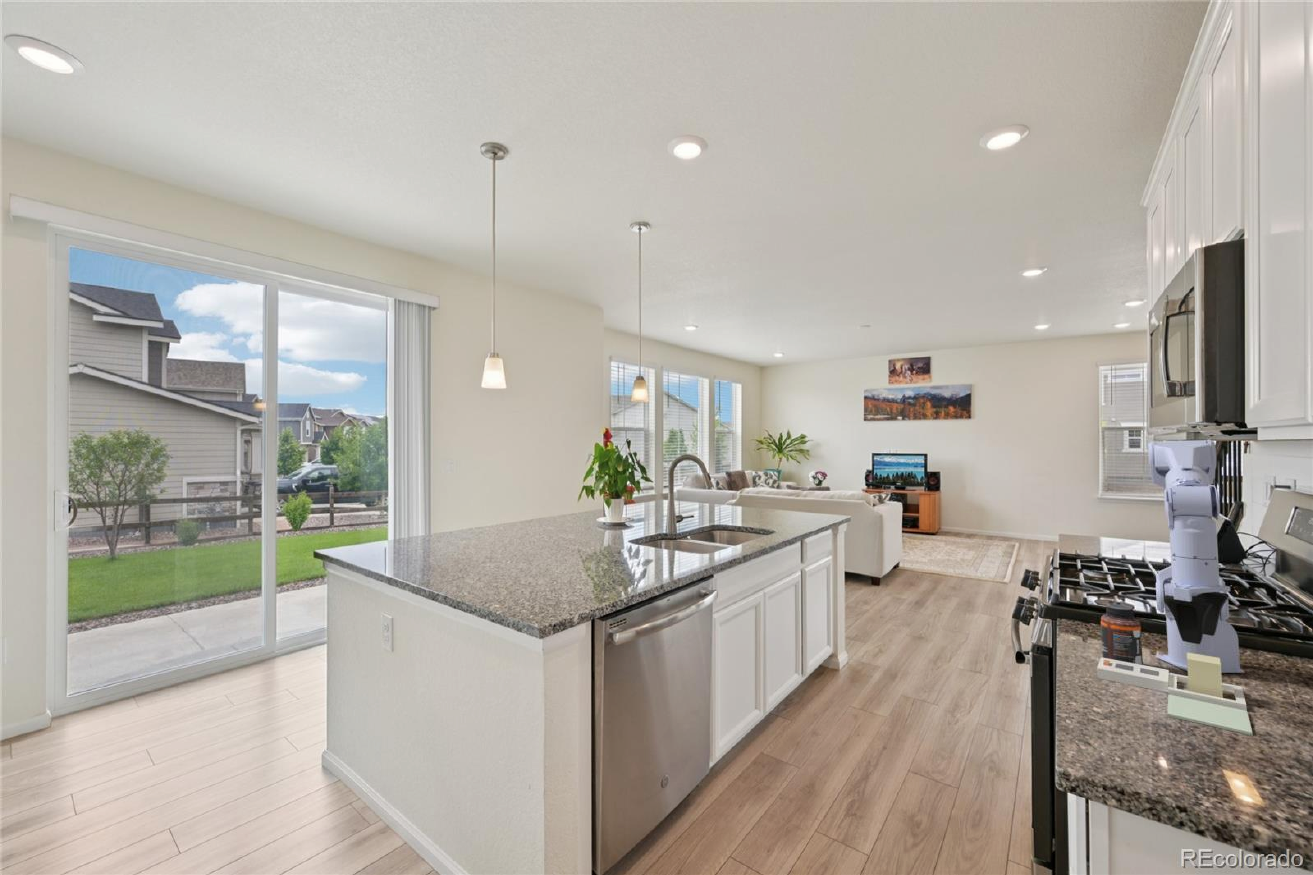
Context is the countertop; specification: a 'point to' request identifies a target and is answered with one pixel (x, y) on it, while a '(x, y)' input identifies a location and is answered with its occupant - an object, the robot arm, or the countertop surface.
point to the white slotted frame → (1163, 682)
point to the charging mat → (1209, 714)
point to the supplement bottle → (1121, 634)
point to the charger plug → (1204, 674)
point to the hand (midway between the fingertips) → (1198, 638)
